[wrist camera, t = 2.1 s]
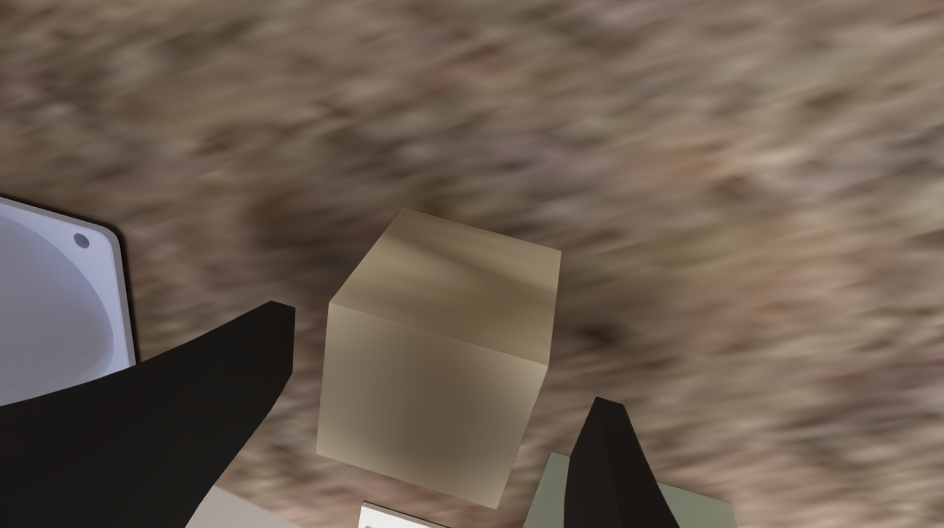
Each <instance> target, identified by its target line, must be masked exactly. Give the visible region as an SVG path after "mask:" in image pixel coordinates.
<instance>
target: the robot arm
mask: <svg viewBox="0 0 944 528" xmlns="http://www.w3.org/2000/svg"><path fill="white" fill-rule="evenodd" d="M294 327H295V307H291V306H288V305H285V304H281V303H278V302H274V301H269V302H267V303H265V304H263V305H261V306H259V307H257V308H255V309H253V310H251V311H249V312H247V313H245V314H243V315H241V316H239V317H237V318H236V319H234V320H232V321H230V322H228V323H226V324H224V325H222V326H220V327H218V328H216V329H214V330H212V331H210V332H208V333H206V334H204V335H201V336H199V337H197V338H195V339H193V340H191V341H189V342H187V343H185V344H182V345H180V346H178V347H175V348H173V349H171V350H169V351H166V352H164V353H162V354H160V355H157V356H155V357H153V358H151V359H148V360H146V361H143V362H141V363H138V364H136V361H135V354H134V346H133V339H132V332H131V325H130V317H129V310H128V303H127V296H126V288H125V281H124V274H123V267H122V259H121V252H120V245H119V241H118V238H117V237H116V236H115V234H114V233H113V232H112V231H110V230H109V229H107V228H105V227H103V226H99V225H96V224H92V223H89V222H85V221H82V220H79V219H75V218H72V217H68V216H65V215H61V214H58V213H54V212H51V211H47V210H44V209H40V208H37V207H33V206H30V205H26V204H23V203H19V202H16V201H13V200H9V199H6V198H2V197H0V528H185V527H186V525H187V523H188V522H189V520H190V519H191V517H192V515H193V514H194V512H195V511H196V509H197V507H198V506H199V504H200V503H201V502H202V500H203V499H204V497H205V496H206V494H207V493H208V492H209V490H210V489H211V487H212V486H213V485H214V483H215V482H216V481H217V480H218V478H219V477H220V476H221V474H222V473H223V472H224V470H225V469H226V468H227V467H228V465H229V464H230V463H231V461H232V460H233V459H234V458H235V456H236V455H237V454H238V452H239V451H240V450H241V448H242V447H243V446H244V445H245V443H246V442H247V441H248V439H249V438H250V437H251V435H252V434H253V433H254V432H255V430H256V429H257V428H258V426H259V425H260V424H261V422H262V421H263V420H264V418H265V417H266V416H267V414H268V413H269V412H270V410H271V409H272V407H273V405H274V404H275V402H276V400H277V399H278V397H279V395H280V394H281V392H282V390H283V389H284V387H285V385H286V383H287V381H288V380H289V378H290V376H291V374H292V368H293V348H294ZM564 528H680V526H679V525H678V523H677V521H676V519H675V517H674V515H673V514H672V512H671V510H670V508H669V506H668V504H667V502H666V500H665V498H664V496H663V494H662V492H661V490H660V488H659V486H658V484H657V482H656V479H655V477H654V475H653V473H652V471H651V469H650V467H649V464H648V462H647V460H646V458H645V455H644V453H643V451H642V448H641V446H640V444H639V441H638V439H637V437H636V434H635V432H634V429H633V427H632V424H631V422H630V419H629V417H628V414H627V412H626V409H625V407H624V406H623V404H620V403H616V402H613V401H609V400H606V399H603V398H599V397H596V398H595V400H594V403H593V405H592V407H591V410H590V412H589V414H588V417H587V419H586V421H585V424H584V426H583V428H582V430H581V433H580V435H579V437H578V440H577V442H576V444H575V447H574V449H573V451H572V454H571V456H570V460H569V467H568V474H567V481H566V489H565V498H564Z"/></svg>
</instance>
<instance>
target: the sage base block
mask: <svg viewBox="0 0 944 528" xmlns="http://www.w3.org/2000/svg"><path fill="white" fill-rule="evenodd" d="M569 460H570V457H568V456H565V455H561V454H558V453H554V452H551V454H550V457H549V459H548V462H547V465H546V467H545V470H544V473H543V475H542V478H541V480H540V483H539V486H538V488H537V491H536V494H535V496H534V499H533V502H532V504H531V507H530V509H529V512H528V515H527V517H526V520H525V523H524V525H523V528H564V498H565V489H566V481H567V474H568V467H569ZM657 484H658V486H659V488H660V490H661V492H662V494H663V496H664V498H665V500H666V502H667V504H668V506H669V508H670V510H671V512H672V514H673V515H674V517H675V519H676V521H677V523H678V525H679V526H680V528H737V526H736V522H735V518H734V514H733V510H732V506H731V503H728V502H724V501H721V500H717V499H714V498H710V497H707V496H704V495H700V494H697V493H693V492H690V491H686V490H683V489H679V488H676V487H672V486H669V485H665V484H662V483H658V482H657Z"/></svg>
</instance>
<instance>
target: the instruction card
mask: <svg viewBox="0 0 944 528" xmlns="http://www.w3.org/2000/svg"><path fill="white" fill-rule="evenodd" d="M358 528H446V527H443V526H440V525H437V524H433V523H430V522H427V521H424V520H421V519H417V518H414V517H411V516H408V515H405V514H401V513H398V512H395V511H392V510H389V509H385V508H382V507H379V506H376V505H373V504H370V503H366V502H363V504H362V508H361V514H360V520H359V527H358Z"/></svg>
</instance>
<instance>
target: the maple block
mask: <svg viewBox="0 0 944 528" xmlns="http://www.w3.org/2000/svg"><path fill="white" fill-rule="evenodd" d="M561 253H562V251H560V250H556V249H553V248H549V247H545V246H542V245H538V244H534V243H531V242H527V241H524V240H520V239H516V238H513V237H509V236H505V235H502V234H498V233H495V232H491V231H487V230H484V229H480V228H476V227H473V226H469V225H466V224H462V223H458V222H455V221H451V220H447V219H444V218H440V217H436V216H433V215H429V214H426V213H422V212H418V211H415V210H411V209H407V208H404V207H403V208H402V209H401V211H400V212H399V213H398V214H397V216H396V217H395V218H394V220H393V221H392V222H391V223H390V225H389V226H388V227H387V229H386V230H385V231H384V232H383V234H382V235H381V236H380V238H379V239H378V240H377V241H376V243H375V244H374V245H373V247H372V248H371V249H370V251H369V252H368V253H367V254H366V256H365V257H364V258H363V260H362V261H361V262H360V263H359V265H358V266H357V267H356V269H355V270H354V271H353V272H352V274H351V275H350V276H349V278H348V279H347V280H346V281H345V283H344V284H343V285H342V287H341V288H340V289H339V290H338V292H337V293H336V294H335V296H334V297H333V298H332V300H331V301H330V302H329V310H328V321H327V333H326V344H325V355H324V367H323V378H322V389H321V400H320V412H319V423H318V434H317V446H316V454H318V455H321V456H325V457H328V458H331V459H334V460H338V461H341V462H344V463H347V464H351V465H354V466H357V467H360V468H363V469H367V470H370V471H373V472H376V473H380V474H383V475H386V476H389V477H393V478H396V479H399V480H402V481H406V482H409V483H412V484H415V485H419V486H422V487H425V488H428V489H432V490H435V491H438V492H441V493H445V494H448V495H451V496H454V497H457V498H461V499H464V500H467V501H470V502H474V503H477V504H480V505H483V506H487V507H490V508H493V509H496V510H497V508H498V505H499V502H500V499H501V497H502V494H503V491H504V488H505V485H506V483H507V480H508V477H509V474H510V472H511V469H512V466H513V463H514V461H515V458H516V455H517V452H518V449H519V447H520V444H521V441H522V438H523V436H524V433H525V430H526V427H527V424H528V422H529V419H530V416H531V413H532V411H533V408H534V405H535V402H536V400H537V397H538V394H539V391H540V388H541V386H542V383H543V380H544V377H545V375H546V372H547V369H548V366H549V358H550V349H551V341H552V332H553V323H554V314H555V305H556V297H557V288H558V279H559V270H560V261H561Z"/></svg>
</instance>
